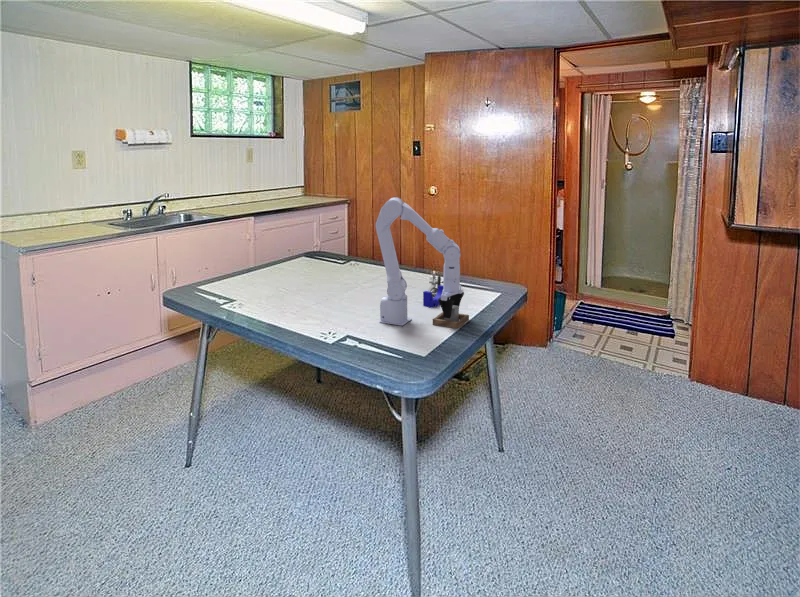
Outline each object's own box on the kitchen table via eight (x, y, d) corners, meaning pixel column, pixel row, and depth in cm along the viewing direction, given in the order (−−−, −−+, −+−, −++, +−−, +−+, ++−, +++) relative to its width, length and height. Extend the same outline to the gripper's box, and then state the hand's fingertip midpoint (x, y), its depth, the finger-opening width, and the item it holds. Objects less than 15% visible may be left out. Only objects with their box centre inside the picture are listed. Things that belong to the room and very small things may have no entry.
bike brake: (429, 285, 238) (423, 305, 221) (429, 271, 235) (423, 290, 218) (459, 286, 236) (456, 306, 218) (460, 272, 233) (456, 291, 215)
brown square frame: (432, 324, 190) (432, 319, 189) (443, 316, 199) (443, 311, 198) (459, 328, 186) (459, 323, 185) (468, 320, 194) (469, 314, 194)
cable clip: (432, 308, 209) (432, 293, 208) (423, 306, 212) (423, 291, 210) (449, 301, 218) (449, 286, 217) (440, 299, 221) (440, 285, 219)
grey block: (444, 323, 191) (444, 307, 190) (448, 320, 195) (448, 304, 193) (454, 325, 189) (454, 308, 188) (458, 321, 193) (458, 305, 191)
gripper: (454, 283, 180) (454, 322, 183) (469, 274, 192) (468, 310, 196) (435, 281, 183) (435, 319, 186) (451, 272, 195) (450, 308, 199)
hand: (451, 314), depth 191 cm, fingers open, 7 cm apart
